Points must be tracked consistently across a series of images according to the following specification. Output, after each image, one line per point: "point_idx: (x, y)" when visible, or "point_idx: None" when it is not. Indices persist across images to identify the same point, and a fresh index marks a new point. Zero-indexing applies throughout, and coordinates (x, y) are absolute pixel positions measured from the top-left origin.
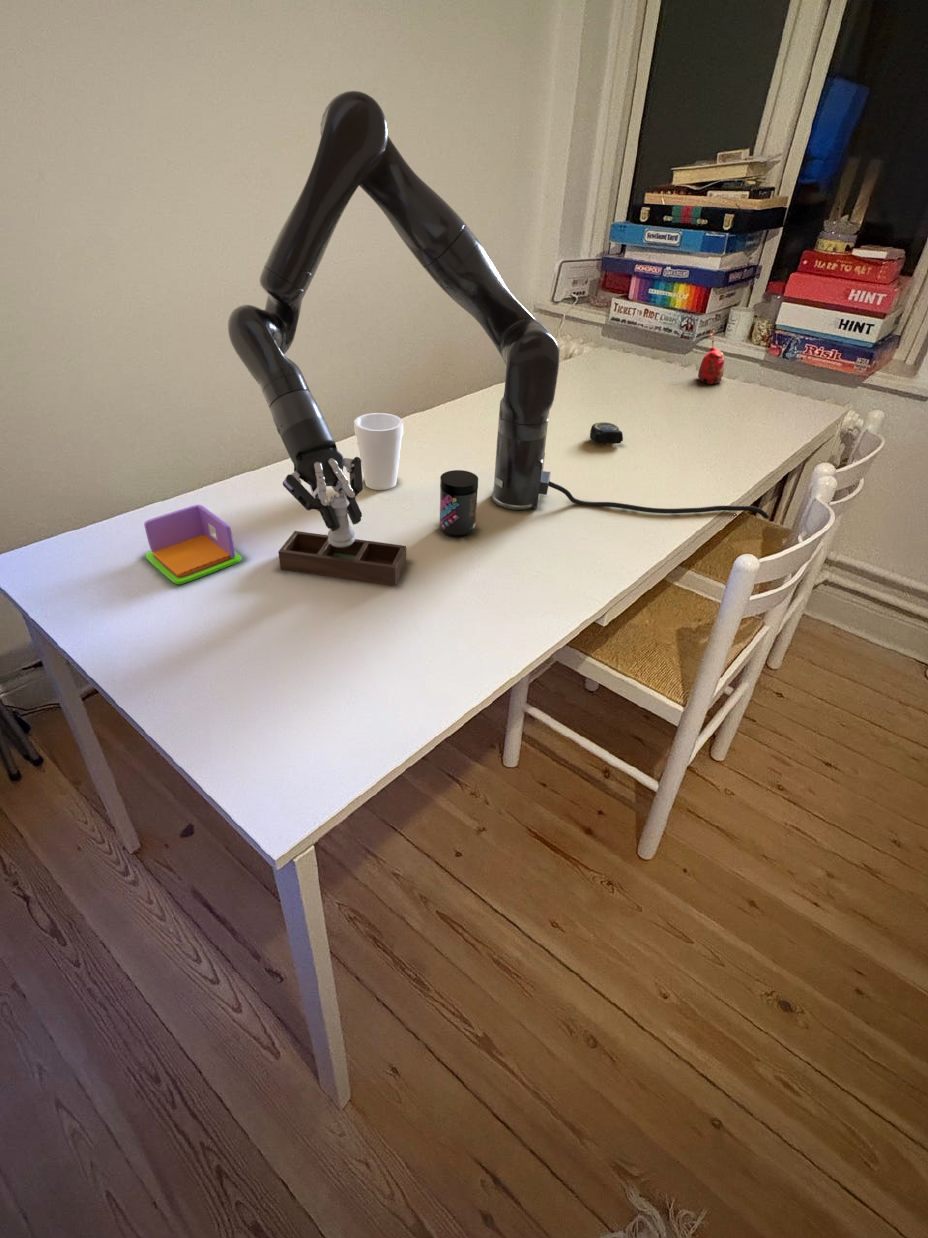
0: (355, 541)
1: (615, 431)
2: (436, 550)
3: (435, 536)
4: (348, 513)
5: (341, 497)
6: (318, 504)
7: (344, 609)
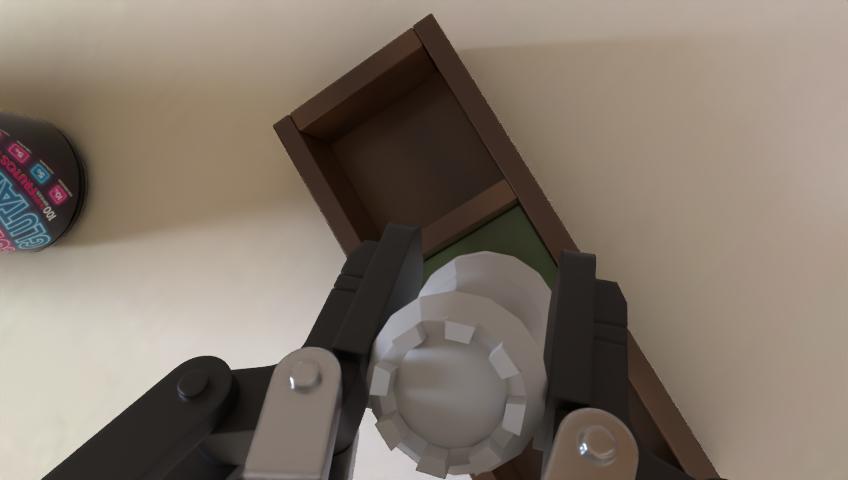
0: None
1: None
2: (178, 135)
3: (116, 210)
4: None
5: (399, 411)
6: (653, 474)
7: (709, 54)
